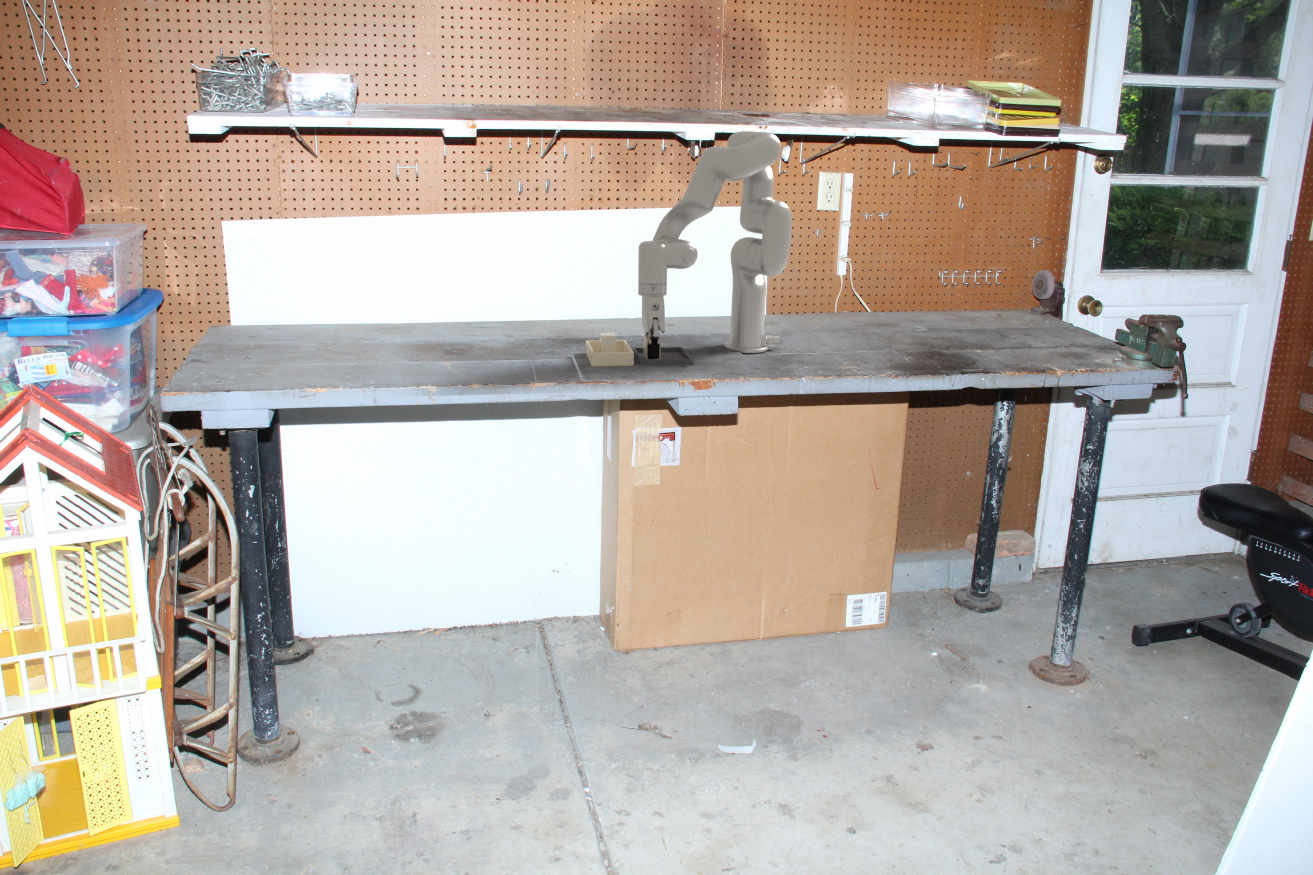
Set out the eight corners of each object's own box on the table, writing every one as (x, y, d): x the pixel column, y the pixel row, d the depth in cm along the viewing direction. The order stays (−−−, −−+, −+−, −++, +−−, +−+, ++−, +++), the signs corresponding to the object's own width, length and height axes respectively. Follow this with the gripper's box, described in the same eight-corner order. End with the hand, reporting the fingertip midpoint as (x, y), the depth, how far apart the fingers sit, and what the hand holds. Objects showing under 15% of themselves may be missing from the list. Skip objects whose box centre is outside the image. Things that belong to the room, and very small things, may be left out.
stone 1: (614, 354, 269) (614, 332, 267) (616, 357, 265) (616, 335, 263) (599, 354, 268) (599, 333, 267) (601, 357, 265) (601, 336, 263)
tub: (625, 354, 272) (625, 340, 270) (633, 367, 258) (633, 352, 256) (585, 354, 270) (585, 340, 269) (591, 368, 256) (592, 353, 255)
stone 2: (657, 356, 266) (658, 334, 265) (660, 359, 263) (660, 337, 261) (643, 356, 266) (643, 334, 264) (645, 360, 262) (646, 338, 260)
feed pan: (681, 353, 274) (681, 346, 274) (692, 366, 260) (693, 359, 260) (632, 354, 272) (632, 347, 271) (641, 367, 258) (641, 360, 257)
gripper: (672, 294, 251) (671, 363, 257) (660, 283, 267) (660, 349, 273) (643, 295, 250) (643, 364, 256) (633, 283, 265) (633, 349, 271)
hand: (651, 355), depth 264 cm, fingers closed on stone 2, 4 cm apart
